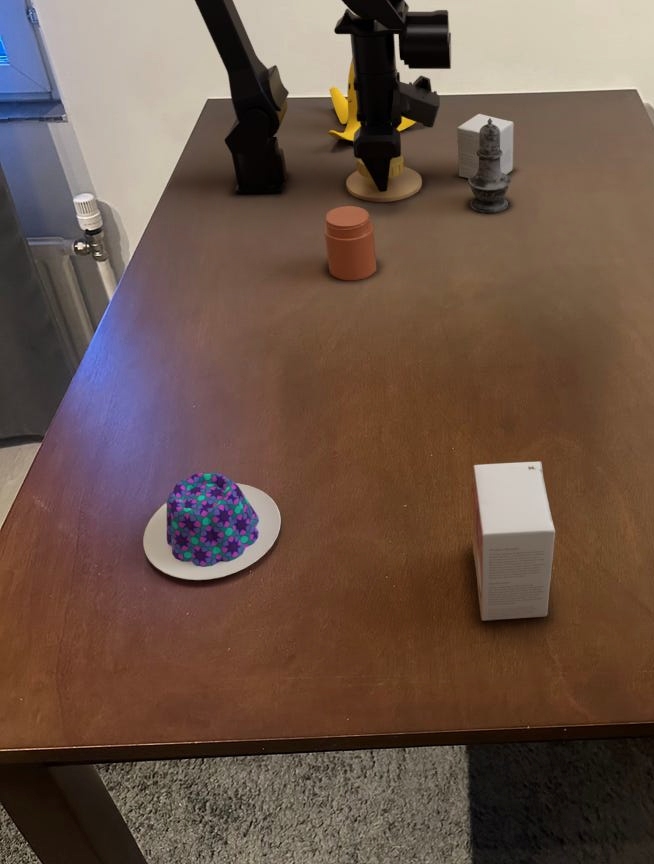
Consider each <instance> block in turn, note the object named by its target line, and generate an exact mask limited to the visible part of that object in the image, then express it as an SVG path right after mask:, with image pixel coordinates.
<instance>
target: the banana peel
mask: <svg viewBox="0 0 654 864" xmlns="http://www.w3.org/2000/svg"><path fill="white" fill-rule="evenodd" d="M355 15H356V14H355ZM356 16H357V15H356ZM350 61H351V62H350V66H349V71H348V72H349V73H348V78H347V91H346V92H347V98H346V97H345V95H343V94H342V92H341V91H340V89H339V88H337V87H336V86H333V87H330V88H329V94H330V97H331V101H332V104H333V107H334V110H335V113H336V116H337V117H338V120H339V122H340V124H342V125H346V127H345V129H344V131H343V132H339V131H336V130H335V129H331V130H329V131H328V134H329V135H330V136H331V137H333V138H335V139H339V140H346V141H350V142H353V139H354V133H355V132H356V131H357V129H358V128H359V127H360V126H361V124H360V122H357V116H356V113H357V100H356V90H354V85H353V81H354V68H353V58H352V57H351V60H350ZM415 123H417V122H415V121H412V120H410V119H407V118H404V117H403V116H402V123H401V124H400V125H399V127H398V128H397V130H399V131H400V132H401V131H404V130H405V129H407V128H409V127H411V126H413V125H414V124H415Z"/></svg>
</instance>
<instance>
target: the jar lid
mask: <svg viewBox="0 0 654 864" xmlns="http://www.w3.org/2000/svg"><path fill="white" fill-rule="evenodd" d="M404 167H405V157H404V154H403V153H402V152H401V156H400V157H397V158H392V159H391V162H390V170H389V178H393V177H396V176H398V175H400V174H401V173H402V172H403V171H404ZM356 169H357V170H356V171H358V172H359V174H360V175H362V176H363V177H366V178H370V179H372V177H371V175H370V173H369V172H368V170H367V168H366V167H365V165H364V163H363V162H362V160H361V159H358V158H356ZM389 178H388V179H389Z"/></svg>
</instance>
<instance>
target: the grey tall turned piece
mask: <svg viewBox="0 0 654 864" xmlns="http://www.w3.org/2000/svg"><path fill="white" fill-rule="evenodd" d="M487 122H488V124H486V125H484V126H482V127H481V129H480V132H479V150H478V151H477V156H479V168H478V172H477V173H475V174H473V175H471V176H470V177H469V178H467V181H468V185H469V186H470V191H471V192H472V194H473V195H474V198H473V199H472V200H471V201H470V207H471V208H472V209H473V210H474V211H476V212H479V213H482V214H497V213H500V212H503V211H505V210H506V209H507V208H508V206H509V203H508V201H507V200H506V199H505V198H504V196H506V193H507V191H508V189H509V186H510V184H511V182H512V181H511V180H512V179H511V178H510V176H509V175H508V174H504V173H502V172H501V168H500V157H501V156H502V154H503V152H502V150H500V129H499V128H498V127H497V126H496V125H493V124H492V120H491V118H489V119H488V121H487Z"/></svg>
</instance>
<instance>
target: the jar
mask: <svg viewBox="0 0 654 864" xmlns="http://www.w3.org/2000/svg"><path fill="white" fill-rule="evenodd" d="M370 217H371V215H370V214H369V212H368V211H367V210H366V209H365V208H363V207H359V206H354V205H346V206H339V207H336V208H335V207H334V208H333V209H331V210H329V211H328V212H327V213H326V214H325V222H324V223H325V226H324V229H323V232H324V241H325V248H326V256H327V264H328V269H329V270H328V271H329V273H330V274H331V276H332V277H334V278H336V279H339V280H342V281H360V280H364V279H366V278H368V277H370V276H372V275H373V274H374V273H376V271H377V268H378V265H377V255H376V244H375V233H374V232H375V231H374V225H373V224H372V222H371V221H370Z"/></svg>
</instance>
